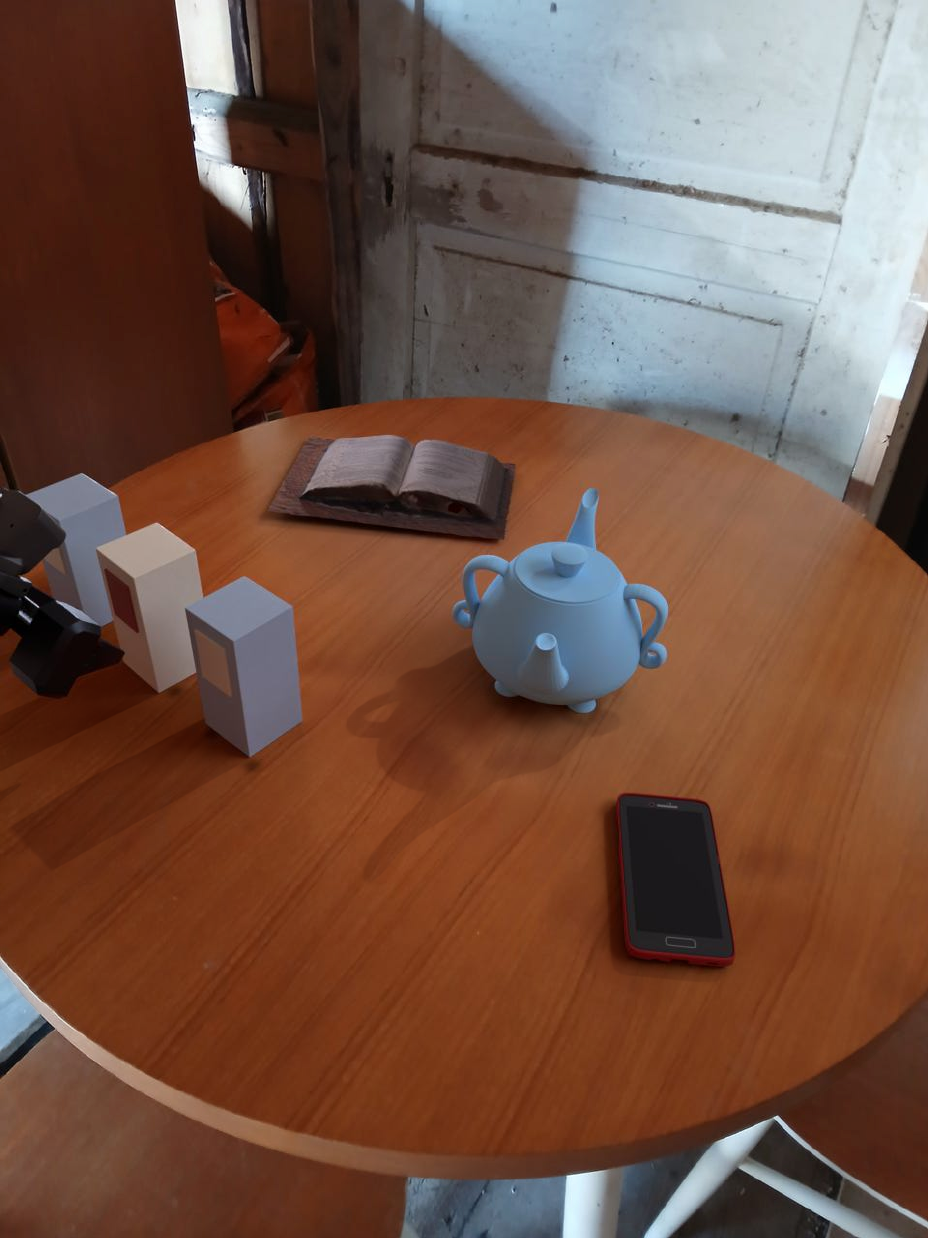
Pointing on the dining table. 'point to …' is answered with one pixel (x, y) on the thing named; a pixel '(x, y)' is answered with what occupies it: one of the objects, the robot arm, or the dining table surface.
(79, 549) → the block left
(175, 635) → the cream block
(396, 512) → the book
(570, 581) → the teapot
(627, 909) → the cell phone
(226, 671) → the block right
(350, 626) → the dining table surface
